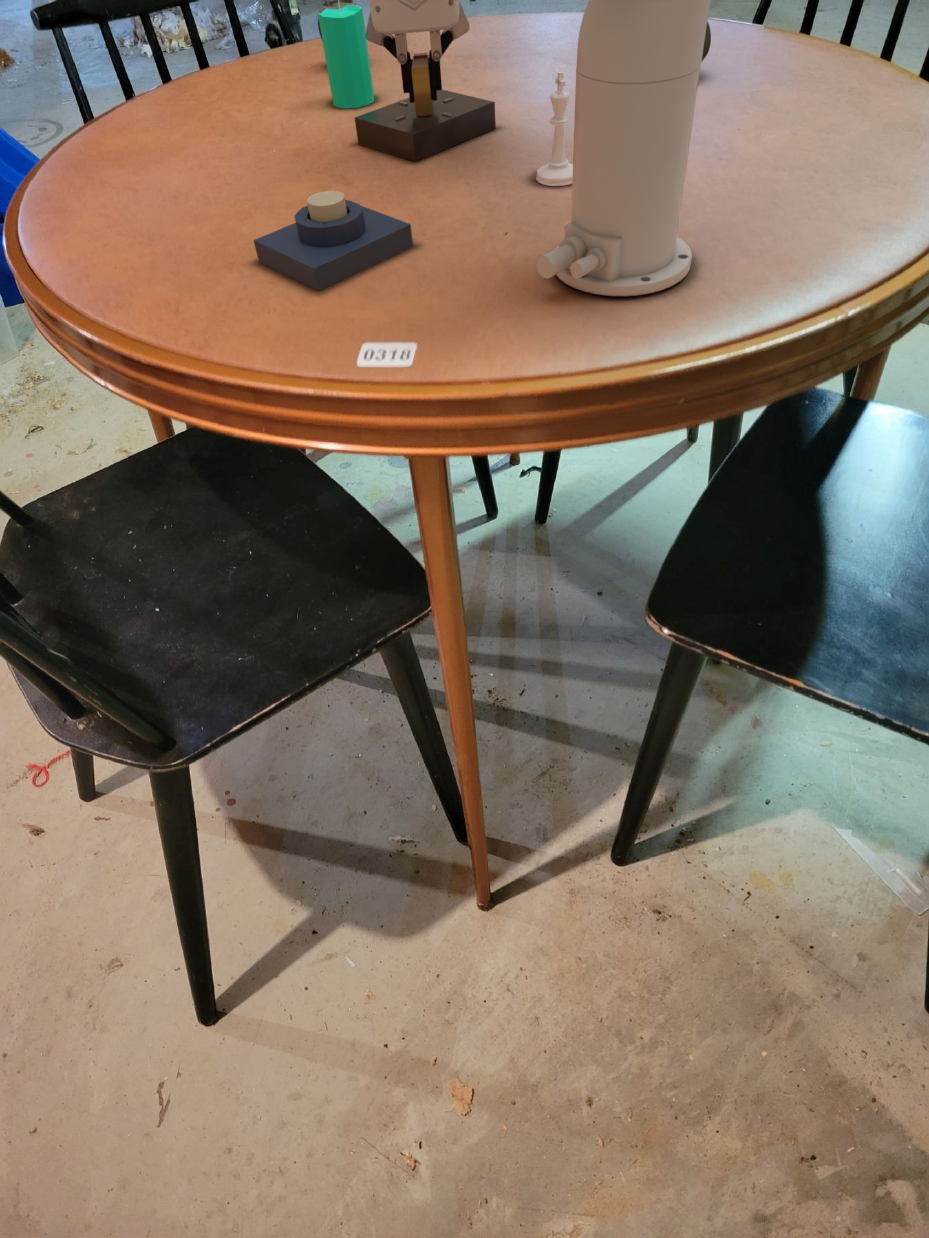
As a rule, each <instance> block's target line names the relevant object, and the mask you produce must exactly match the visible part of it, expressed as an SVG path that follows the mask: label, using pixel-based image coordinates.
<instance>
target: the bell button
mask: <svg viewBox="0 0 929 1238" xmlns="http://www.w3.org/2000/svg"><path fill="white" fill-rule="evenodd" d="M345 197H346V196H345V194H344V193H343V192H341V191H337V190H324V191H319V192H315V193H313V194H311V195H310V196H308V197H307V199H306V204H307V206H308V209H309V214H310V219H311V220H312V221H314V222H330V221H336V220H339V219H341V218H344V217H346V216H347V215H348V214H347V208H346V203H345V200H346V198H345Z"/></svg>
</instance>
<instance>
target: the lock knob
mask: <svg viewBox="0 0 929 1238" xmlns="http://www.w3.org/2000/svg"><path fill="white" fill-rule="evenodd" d="M428 58H429V52H420V53H413V55H412V59H413V60H412V68H411V70H412V80H413V90H414V100H415V110H416V116H429V115H432V110H433V100H431V89H430V77H429V66H428Z"/></svg>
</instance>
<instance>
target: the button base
mask: <svg viewBox="0 0 929 1238" xmlns="http://www.w3.org/2000/svg"><path fill="white" fill-rule="evenodd" d="M345 203H346V208H347V214H348V215H347V216H346V217H344V218H341V219H339V220H336V221H330V222H314V221H312V220H311V219H310V214H309V209H308V205H306V206H303V207H301V208H300V209H299V210H298V211H297V212H296V213H295V214H294V216H293V217H294V221H295V222H293V223H292V224H288V225H287V226H284V227H282V228H280V229H277V230H275V231H272V232H270V233H267V234H265V235H263V236H260V237H258V238H255V239H253V244H254V248H255V252H256V255H257V259H258V263H259V264H261V265H263V266H266V267H268V268H270V269H272V270H275V271H276V272H279V273H281V274H282V275H284V276H286V277H288V278H291V279H292V280H295V281H297V282H299V283H301V284H303V285H305V286H307V287H309V288H311V289H313V290H315V291H317V292H320V291H322V290H324V289H326V288H329V287H331V286H333V285H335V284H337V283H339V282H342V281H343V280H346V279H348V278H350V277H352V276H354V275H356V274H358V273H360V272H362V271H364V270H366V269H368V268H371V267H372V266H375V265H378V264H379V263H382V262H384V261H386V260H387V259H390V258H392V257H394V256H396V255H398V254H400V253H403V252H405V251H406V250H409V249H410V248H413V247H414V242H413V232H412V225H411V223H409V222H406V221H404V220H400V219H397V218H396V217H393V216H391V215H387V214H385V213H382V212H379V211H377V210H374V209H371V208H369V207H366V206H363V205H361V204H360V203H358V202H355V201H352V200H350V199H345Z"/></svg>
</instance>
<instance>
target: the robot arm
mask: <svg viewBox="0 0 929 1238" xmlns="http://www.w3.org/2000/svg"><path fill="white" fill-rule="evenodd" d="M711 2H712V0H588V1H587V4H586V6H585V10H584V12H583V15H582V20H581V24H580V28H579V32H578V39H577V49H576V67H575V91H574V92H575V93H574V119H573V120H574V122H573V123H574V124H573V149H572V151H573V152H572V164H573V174H572V184H571V205H570V222H569V223H567V224H565V225H564V231H563V232H564V233H563V236H564V237H563V238H564V239H563V240H561V242H560V243H558V245H556V247H555V248H554V249H551V250H550V251H548V252H546V253H544V254H543V255H542V254H541V256H539V257H538V258H537V260H536V270H537V272H538V274H539V275H540V277H541V278H543V279H545V280H548V279H550V278H553V277H555V276H557V278H558V279H559V280H561V281H562V282H563V283H564V284H566V285H567V286H569V287H571V288H573V289H576V290H579V291H582V292H584V293H589V294H593V295H596V296H597V295H599V296H608V297H633V296H642V295H648V294H653V293H657V292H661V291H664V290H665V289H668V288H670V287H673V286H674V285H676V284H678V283H679V282H681V281H682V280H683V279H684V278H685V277H686V276H687V275H688V274H689V272H690V270H691V265H692V259H693V253H692V250H691V248H690V247H689V245H688V244H687V243H686V242H685V241H684V240H683V238H680V237H679V236H678V231H679V225H680V217H681V210H682V203H683V196H684V195H683V194H684V189H685V181H686V174H687V167H688V159H689V153H690V145H691V139H692V133H693V132H692V131H693V125H694V118H695V117H694V116H695V109H696V102H697V95H698V87H699V81H700V73H701V72H700V70H701V66H702V62H703V61H702V54H703V47H704V40H705V33H706V26H707V21H708V19H709V14H710V7H711ZM368 3H369V15H368V19H367V25H366V28H365V32H366V34H365V37H366V40H367V42H370V43H372V44H375V45H378V46H379V47H383V48H384V49H386V50H387V51H388V52H389V53H390V54H391V55H392V57H393V58H394V59H396V60H397V63H399V64H400V72H401V80H402V81H401V83H402V90H403V94H408V95H409V97H408V98H410V103H414V101H415V100H414V90H413V80H412V70H411V68H412V60H413V58H412V57H411V53H410V52H409V50H408V40H407V34H413V33H424V32H429V42H430V43H429V44H430V50H429V51H428V55H429V58H428V66H429V77H430V89H431V100H433V101H437V90H443V85H442V84H443V83H442V69H441V59H442V57H443V56H444V54H445V52H446V51H447V49H448V48H449V47H450V46H451V44H452V42H453V41H455V40H457V39H459V38H461V37H462V36H463V35H465V34H467V33H468V32H469V31H470V22H469V20H468V17H467V15H466V12H465V10H464V7H463V4H462V3H461V0H369V1H368ZM442 30H443V31H442ZM441 31H442V32H441ZM701 61H702V62H701Z"/></svg>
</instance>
